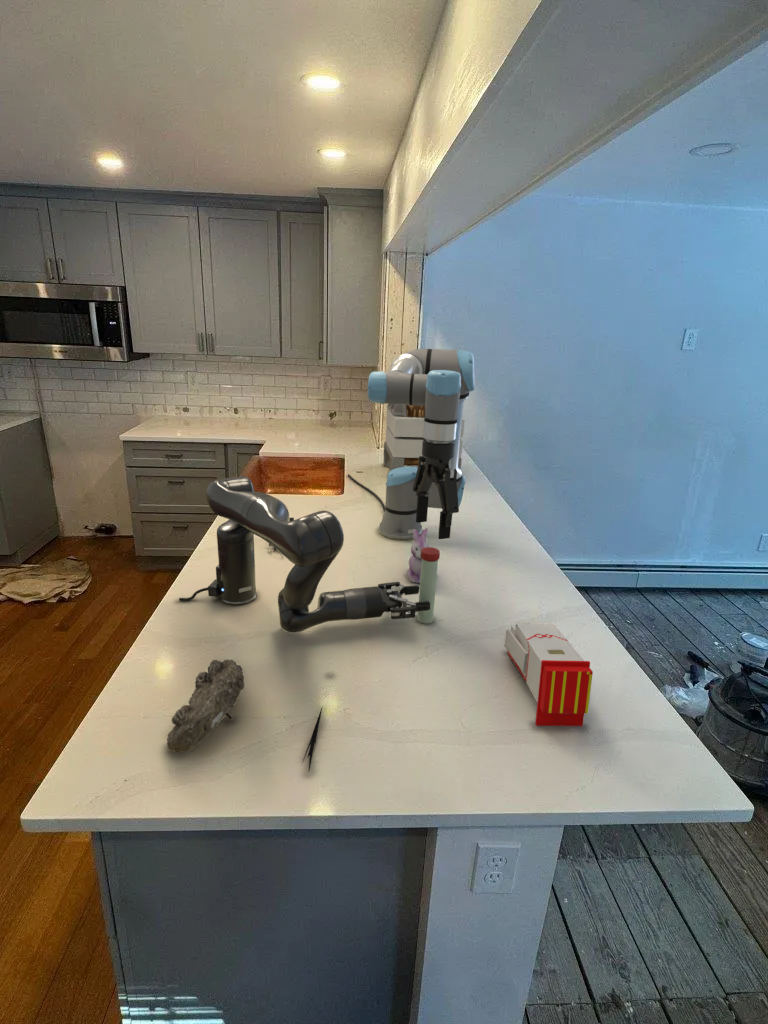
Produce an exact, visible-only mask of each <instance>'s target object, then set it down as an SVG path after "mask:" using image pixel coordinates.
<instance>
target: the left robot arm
mask: <svg viewBox="0 0 768 1024" xmlns="http://www.w3.org/2000/svg"><path fill="white" fill-rule="evenodd" d="M205 495H206V501H207V504H208V506H209V508H210V510H211V511H212V512H213V513H214V514H215V515H217V516H218V517H221V518H223V519H227V520H226V521H225V522H223V523H222V524H220V525H219V526H218V527H217V528H216V543H217V554H218V555H217V560H218V565H217V566H216V567H215V579H214V580H213V581H212V582H211V583H210V584H209V585H208V586H207V587H204V588H200V589H197V590H196V591H195V592H194V593H192V595H191V596H190V597H179V598H178V600H179V602H188V601H192V600H194V598H195V597H197V595H198V594H200V593H203V592H205V591H207V593H208V594H207V595H208V597H211V598H217V600H218V601H221V602H223V603H224V604H227V605H233V606H235V605H236V606H237V605H245V604H248V603H251V602H252V601H254V600H255V599H256V597H257V585H256V560H255V559H256V557H255V555H256V554H255V536H257V537H259V538H260V539H262V540H264V541H265V542H266V543H268V544H269V543H270V544H271V545H272V546H273V548H274V547H275V548H276V551H278V552H279V553H280V554H281V555H282V556H284V557H285V559H287V560H288V561H289V562H290V563H292V564H293V566H292V568H291V569H290V570H289V572H288V573H287V575H286V579H285V582H284V585H283V588H282V589H281V590H280V591H279V592H278V596H277V605H278V606H277V607H278V614H279V624H280V628H281V629H282V630H283V631H284V632H287V633H291V634H292V633H293V634H297V633H300V632H303V631H306V630H307V629H310V628H313V627H315V626H318V625H321V624H324V623H329V622H334V621H335V622H336V621H345V620H347V621H348V620H354V621H355V620H363V619H364V620H365V619H374V618H375V619H376V618H380V617H382V616H383V614H384V613H390V619H392V620H399V619H400V620H402V619H415V618H416V613H418V611H427V610H430V602H429V601H423V602H419V601H415V602H414V601H409V600H408V599H407V598H404V597H402V596H404V595H405V596H409V595H410V596H411V595H419V590H420V585H418V584H414V585H413V584H412V585H404V584H401V582H400V581H393V582H384V583H378V584H377V585H376V586H375V585H374V586H364V587H353V588H348V589H344V590H343V589H342V590H333V591H324V592H321V593H320V594H319V595H318V598H317V607H316V609H315V610H313V611H310V608H309V607H310V605H311V604H312V602H313V600H314V597H315V595H316V591H317V589H318V587H319V584H320V581H321V580H322V578H323V577H324V575H325V574H326V572H327V571H328V569H329V567H330V566H331V564H332V563H333V562H334V560H335V559H336V557H337V556H338V555H339V553H340V552H341V550H342V549H343V546H344V541H345V534H344V530H343V527H342V525H341V522H340V520H339V518H337V516H336V515H335V514H334V513H332V512H331V511H329V510H319V511H316V512H312V513H310V514H307V515H305V516H302V517H299V518H297V519H294V520H293V521H290V522H289V519H290V518H291V517H290V512H289V509H288V507H287V505H286V504H285V503H284V502H283V501H281V500H280V499H279V498H276V497H274V496H272V495H270V494H269V493H266V492H265V493H264V492H259V491H255V488H254V484H253V482H252V480H251V479H250V477H248V476H246V475H240V476H232V477H226V478H218V479H215V480H213V481H211V482H210V483H209V484H208V486H207V489H206V494H205ZM272 546H271V547H272Z"/></svg>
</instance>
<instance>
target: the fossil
mask: <svg viewBox="0 0 768 1024" xmlns="http://www.w3.org/2000/svg"><path fill="white" fill-rule="evenodd" d="M243 670H244V669H243V667H242V665H240V664H237V662H236V661H235V660H234V659H232V658H231V659H227V658H226V659H224V660H223V661H222V660H217V659H212V660H211V661H210V663H209V665H208V666H207V671H201V672H199V673H198V674H197V675H196V676H195V680H194V684H195V685H194V687H195V689H194V690H193V693H192V694H191V697H190V698H189V700H188V704H184V705H182V706H181V707H180V709H177V710H176V711H175V713H174V715H173V716H172V718H171V723H172V724H173V727H172V730H171V731H170V732H168V734H167V738H166V741H167V742H166V745H167V749H168V750H169V751H173V752H174V753H176V754H178V753H182V752H188V751H189V752H192V751H193V750H195V748H196V747H197V746H199V744H200V743H201V742H203V741H204V740H205V739H206V738H207V737H208V736H209V735H210V734H211V733H212V732H214V730H215V729H217V727H218V726H219V724H220V722H221V721H222V720H223V719H224V718H225V716H226V717H227V719H229V720H233V717H232V715H230V714H229V710H230V709H231V708H234V706H235V704H236V703H237V702H238V699H239V697H240V695H241V693H242V691H243V690H245V689H244V688H245V675H244V671H243Z"/></svg>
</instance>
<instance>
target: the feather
mask: <svg viewBox="0 0 768 1024" xmlns="http://www.w3.org/2000/svg"><path fill="white" fill-rule="evenodd" d="M329 675H330V676H331V675H332V674H331V673H330V674H329ZM322 710H323V707H321V708H320V710H319V713H318V716H317V719H316V723H315V725H314V728H313V731H312V733H311V737H310V739H309V742H308V745H307V748H306V751H305V754H304V757H303V760H302V763H301V767H302V765H303V763H304V761H305V758H308V759H309V760H308V762H307V763H308V764H307V766H308V771H310V770H311V766H312V765H311V764H312V760H313V757H315V756H314V755H315V751H316V749H315V746H317V739H318V733H319V729H320V722H321V717H322V712H323V711H322ZM313 754H314V755H313ZM306 755H307V757H306Z"/></svg>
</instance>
